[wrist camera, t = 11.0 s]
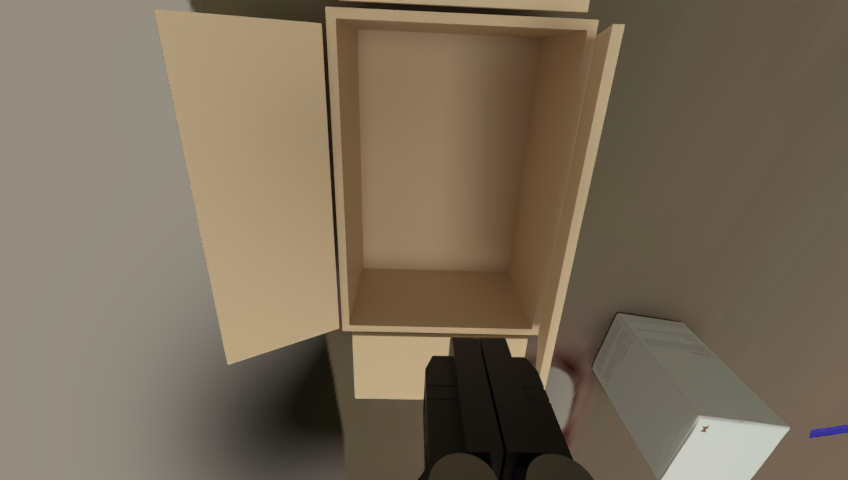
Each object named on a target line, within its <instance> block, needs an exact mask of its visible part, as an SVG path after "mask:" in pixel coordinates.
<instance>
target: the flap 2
mask: <svg viewBox="0 0 848 480" xmlns="http://www.w3.org/2000/svg"><path fill="white" fill-rule="evenodd" d="M624 27H625V24H612V25H611V26H610V27H608V28H607V29H605V30H604V31H603V32H601V33H600V34H598V35H597V36H596V38H595V43H594V48H593V53H592V58H591V64H590V69H589V74H588V79H587V84H586V89H585V94H584V100H583V105H582V110H581V115H580V120H579V125H578V130H577V136H576V141H575V146H574V151H573V156H572V161H571V166H570V172H569V177H568V182H567V187H566V192H565V197H564V202H563V208H562V213H561V218H560V223H559V228H558V233H557V238H556V244H555V249H554V254H553V259H552V264H551V269H550V274H549V280H548V285H547V290H546V295H545V300H544V305H543V310H542V316H541V321H540V326H539V331H538V345H537V360H536V370H537V371H538V373H539V376H540V378H541V381H542V383H543V386H544V390H545V387H546V383H547V378H548V373H549V369H550V365H551V360H552V356H553V351H554V346H555V342H556V337H557V333H558V328H559V324H560V319H561V314H562V310H563V305H564V301H565V296H566V292H567V287H568V283H569V278H570V273H571V269H572V264H573V260H574V255H575V251H576V246H577V241H578V237H579V232H580V228H581V223H582V219H583V214H584V209H585V205H586V200H587V196H588V191H589V187H590V182H591V178H592V173H593V168H594V164H595V159H596V155H597V150H598V146H599V141H600V136H601V132H602V127H603V123H604V118H605V114H606V109H607V105H608V100H609V95H610V91H611V86H612V82H613V77H614V73H615V68H616V63H617V59H618V54H619V50H620V45H621V41H622V36H623V31H624Z"/></svg>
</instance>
